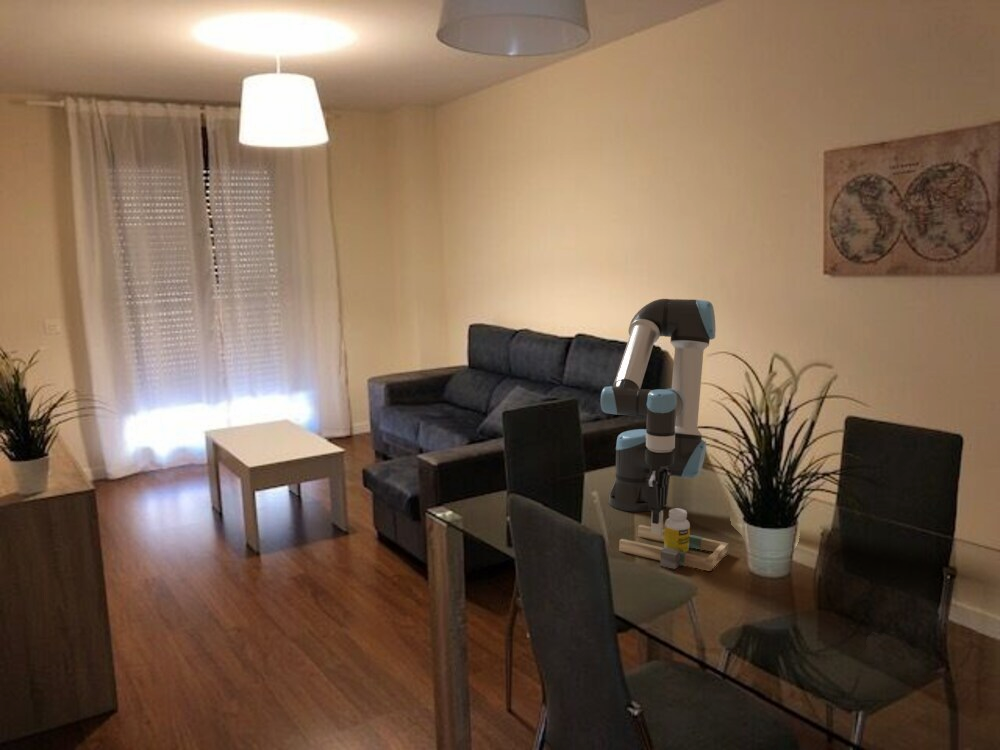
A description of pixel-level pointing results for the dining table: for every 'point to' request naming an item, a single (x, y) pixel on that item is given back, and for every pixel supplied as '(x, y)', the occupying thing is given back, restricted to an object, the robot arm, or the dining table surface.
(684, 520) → the pill bottle
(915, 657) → the dining table surface
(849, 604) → the dining table surface
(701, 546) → the beam track
